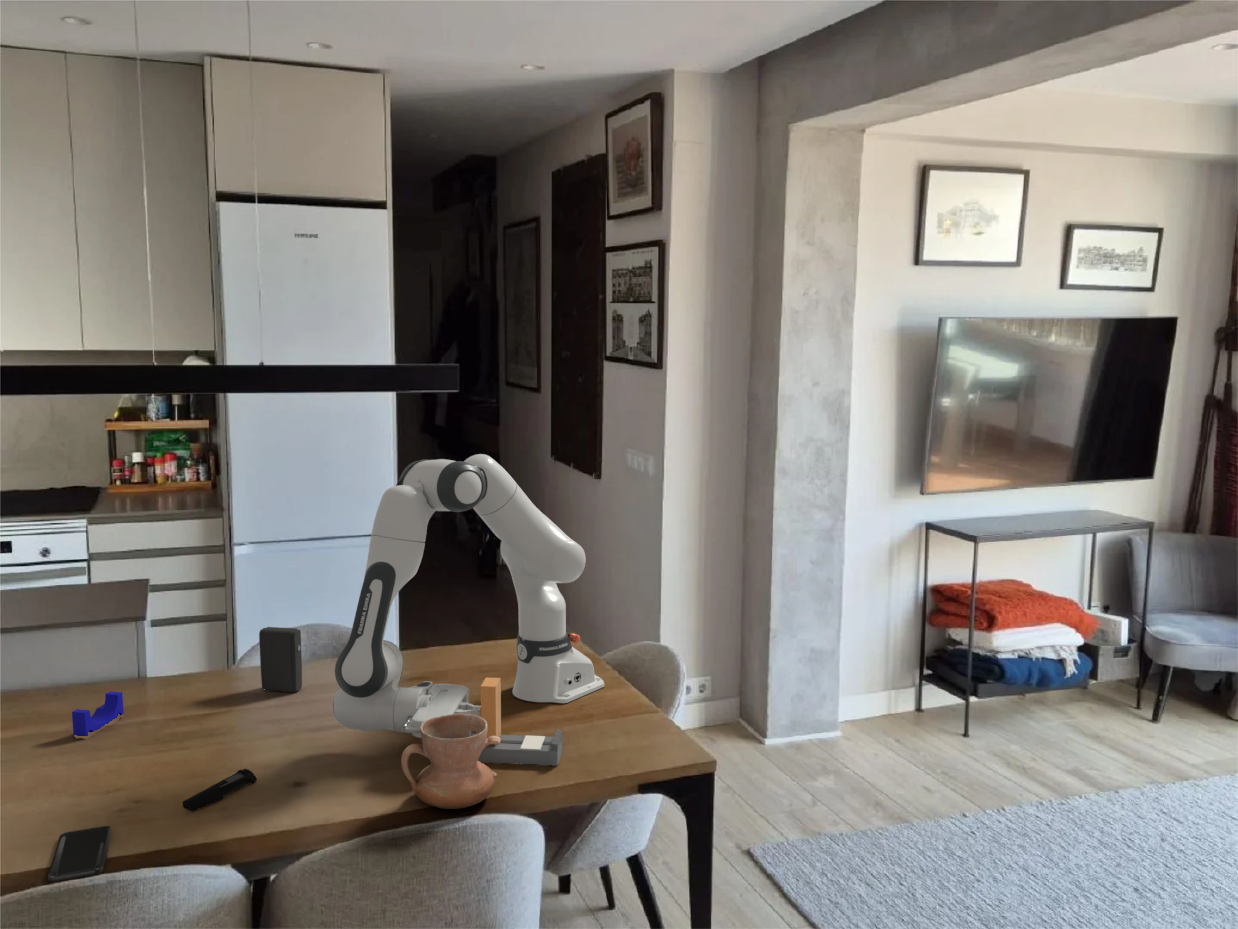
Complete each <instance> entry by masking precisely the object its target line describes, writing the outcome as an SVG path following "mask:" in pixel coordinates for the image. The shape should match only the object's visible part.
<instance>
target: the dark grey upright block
mask: <svg viewBox="0 0 1238 929" xmlns="http://www.w3.org/2000/svg"><path fill="white" fill-rule="evenodd" d="M259 630H260V631H259V634H258V636H259V638H258V640H259V641H258V642H259V643H258V644H259V659H260V661H259V662H260V676H261V678H260V679H261V688H262V690H263V689H265V690H264V691H266V690H269V691H268V692H278V691H282V692H281V693H296V692H299V691H300V690H301V689H302V687H303V667H302V666H303V663H302V661H303V660H302V658H303V656H302V635H301V634H302V633H301V629H298V628H294V627H293V628H291V627H277V626H276V627H275V626H266V627H263V628H261V629H259Z"/></svg>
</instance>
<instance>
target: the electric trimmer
mask: <svg viewBox="0 0 1238 929" xmlns="http://www.w3.org/2000/svg"><path fill="white" fill-rule="evenodd" d="M257 781H258V778H257V777H256V775H255V774H254V772H253V771H252V770H249V769H248V768H243V769H239V770H237V771H236V773H234V774H232V775H229V776H228V777H226V778H224V779H223V780H220V781H219V782H216V783H214V784H213V785H211V786H208V787H207V788H205V789H204V790H201V791H200V792H198V793H196V794H194V795H192V796H191V797H188V798H186V799H185V800H182V807H183V809H185V810H188V811H192V812H193V811H194V812H195V811H197V810H200V809H202V808H206V807H208V806H210V805H213V804H215V803H218V802H219V801H222V800H223V799H224V798H225V796H227V795H228V794H230V793H233V792H235V791H237V790H239V789H241V788H242V787H245V786H247V785H249V784H251V785H255V784H256V782H257ZM254 783H255V784H254Z"/></svg>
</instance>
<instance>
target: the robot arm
mask: <svg viewBox="0 0 1238 929" xmlns="http://www.w3.org/2000/svg"><path fill="white" fill-rule="evenodd" d="M471 509H473V510H474V511H475V513H476V514H477V515H478V516H479V517H480V519H481V520H482V521H483V522H484V523H485V524H486V525H487V527H488V528H489V529H490V531H491V532H492V533H493V534H494V535H495V536H496V537H497V538H498V539H499V540H500V546H499V549H500V556H501V557H502V559H503V561H504V562H505V564H506V565H507V567H508V570H509V572H510V575H511V578H512V582H513V586H514V590H515V593H516V600H517V606H518V607H517V608H518V612H517V613H518V633H517V634H516V636H517V637H516V652H517V667H516V674H515V680H514V683H513V688H512V691H511V692H512V695H513V697H516V698H517V699H519V700H523V701H526V702H533V703H554V704H555V703H557V704H566V703H567V704H568V703H570V702H572V701H575V700H576V699H579V698H582V697H584V696H586V695H588V694H590V693H591V694H592V693H593V692H595V691H598V690H601V689H602V688H604V687H605V681H604V680H603V679H602V677H599V676H598V675H596V674H595V673H596V672H595V668H594V665H593V661H592V659H591V658H589V657H588V656H586V655H585V654H584V653H582V652H581V651H579V650H578V649H576V648H575V647H574V646H573V645H572V643H574V644H578V643H580V641H581V636H580V634H576V633H570V632H567V631H566V630H567V628H566V626H567V624H566V622H567V619H566V618H567V611H566V609H567V605H566V601H565V597H564V596H563V594H562V593H561V592H560V589H559V587H558V585H557V584H570V583H573V582H575V581H576V580H578V579H579V578H580V576H581V575H582V574H583V572H584V570H585V568H586V563H587V561H586V560H587V558H586V553H585V550H584V548H583V547H582V546H581V545H580V543H577V542H576V541H575V540H573V539H572V538H571V537H569V536H568V535H567V534H566V533H565V532H564V531H563V530H562V529H561V528H560V527H559V526H558V525H557V524H555V523H554V521H552V520H551V519H550V518H549V517H548V516H547V515H546V514H544V513H543V512H541V510H540V509H539V508H538V507H536V505H535V504H534V503H533V502H532V500H530V498H529V497H528V495H527V494H526V493H525V492H524V491H523V489H522V488H521V486H519V484H518V483H517V482H516V481H515V480H514V478H513V477H512V476H511V475H510V474H509V472H508V471H506V469H505V468H504V467H503V466H502V465H500V464H499V463H498V462H497V461H496V460H495V459H494V458H492V457H491V456H490V455H488V454H485V453H483V454H482V453H479V454H477V453H476V454H474V455H471V456H469V457H468V458H466V459H465V460H464V461H461V460H459V461H456V460H454V459H453V460H451V459H445V458H439V459H438V458H437V459H419V460H416V461H413V462H411V463H409V464H407V466H406V467H405V468H404V470H403V471H402V472H401V474H400V476H399V480H398V481H397V483H396V484H395V485H394V486H391V487H389V488H387V489H386V490H385V491H384V492H383V494H382V497H381V498H380V502H379V505H378V507H377V509H376V513H375V517H374V520H373V525H372V529H371V535H370V541H369V547H368V553H367V560H366V566H365V571H364V578H363V582H362V586H361V590H360V594H359V598H358V602H357V606H356V611H355V616H354V619H353V624H352V628H351V631H350V635H349V638H348V640H347V643H346V645H345V646H344V648H343V650H342V651H341V653H340V654H339V655H338V658H337V660H336V661H335V665H334V675H335V676H334V677H335V680H336V682H337V685H338V686H339V688H338V689H336V691H335V692H334V694H333V700H332V701H333V702H332V709H333V714H334V717H335V719H336V721H337V722H338V724H339V725H340V726H342V727H343V728H348V729H350V730H356V731H357V730H358V731H365V732H368V731H369V732H381V731H384V730H385V731H386V730H389V731H392V732H394V733H395V732H396V733H407V734H411V736H413V737H415V738H418V739H419V738H420V739H421V733H420V726H421V724H422V723H423V722H424V721H426V720H429V719H431V718H434V717H440V716H443V715H449V714H468V715H469V714H471V715H476V716H479V717H481V705H474V704H473V703H470V688H469V687H467V686H465V685H463V684H453V683H435V684H434V683H433V681H432V680H424V681H422V682H420V683H418V684H415V685H414V686H409V687H401V686H399V685H400V682H401V678H402V675H403V668H404V655H403V653H402V652H401V650H400V648H399V647H398V646H397V645H396V644H395V643H394V642H392V641H389V640H386V639H385V634H386V630H387V625H388V620H389V617H390V612H391V607H392V605H393V603H394V602H393V601H394V600H395V597H396V596H397V594H398V593H399V592H400V591H401V590H402V589H403V587H404V586H405V585H406V584H407V583H408V582H409V581H410V580H411V579H412V578H414V577H415V575H416V574H417V572H418V570H419V567H420V565H421V563H422V559H423V556H424V552H425V551H424V550H425V546H426V543H425V542H426V540H427V539H426V538H427V534H428V532H427V530H428V525H429V521H430V519H431V518H432V516H433V515H434V514H435V512H454V513H460V512H467V511H468V510H471ZM384 639H385V640H384Z"/></svg>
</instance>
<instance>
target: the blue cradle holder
mask: <svg viewBox="0 0 1238 929" xmlns="http://www.w3.org/2000/svg"><path fill="white" fill-rule="evenodd" d="M123 697H124V696H123V692H122V691H108V692H106V693H105V700H104V704H102V705H101V706H98V707H97V708H96V709H95V711H94V712H93V714H91V710H89V709H81V708H77V709H75V710H72V712H71V718H72V719H71V721H72V732H73V734H72V735H73V736H74V735H77V736H88V732H93V731H95V730H98V729H100V728H101V727H102V726H104V725H105V724H108V723H109V722H110V721H112V720H113V719H115V718H117V716H118V714H120V715H122V714H125V711H124V700H123Z"/></svg>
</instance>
